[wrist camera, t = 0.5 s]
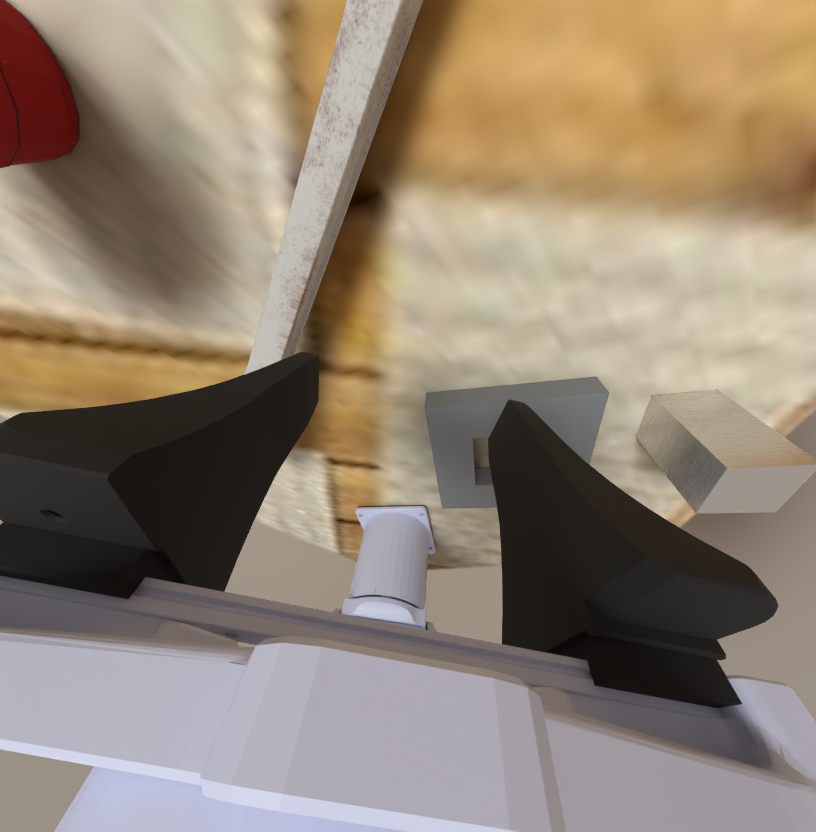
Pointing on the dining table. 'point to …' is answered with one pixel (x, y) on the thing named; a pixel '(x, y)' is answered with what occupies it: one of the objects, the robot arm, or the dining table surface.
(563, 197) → the dining table surface
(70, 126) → the plastic cup
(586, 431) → the socket block
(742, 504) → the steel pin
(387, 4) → the wrench
